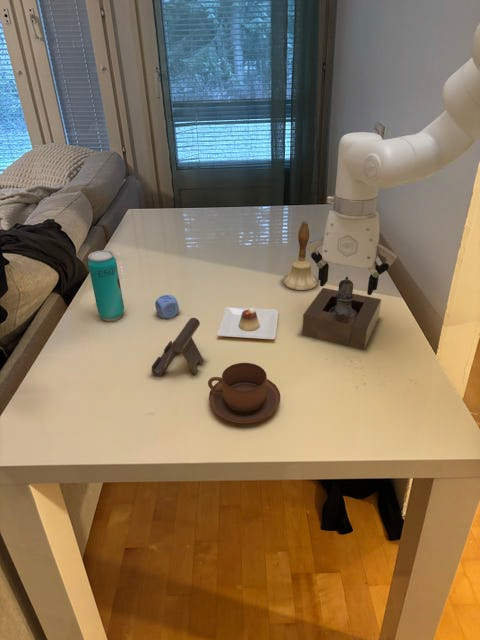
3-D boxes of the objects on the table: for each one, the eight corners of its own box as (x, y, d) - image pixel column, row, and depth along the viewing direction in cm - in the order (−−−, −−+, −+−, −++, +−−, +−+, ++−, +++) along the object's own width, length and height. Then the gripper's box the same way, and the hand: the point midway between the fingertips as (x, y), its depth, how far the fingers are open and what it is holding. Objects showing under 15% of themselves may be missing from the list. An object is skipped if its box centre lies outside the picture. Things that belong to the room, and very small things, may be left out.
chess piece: (360, 332, 98) (367, 281, 91) (333, 336, 97) (339, 284, 90) (348, 318, 103) (354, 268, 96) (323, 321, 102) (327, 271, 95)
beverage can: (128, 318, 104) (118, 256, 97) (103, 325, 102) (90, 262, 94) (120, 307, 109) (110, 247, 101) (96, 314, 106) (83, 253, 98)
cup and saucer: (213, 434, 73) (211, 404, 70) (206, 386, 84) (204, 358, 80) (287, 424, 75) (289, 395, 72) (271, 378, 85) (272, 351, 82)
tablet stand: (171, 349, 94) (166, 313, 89) (207, 354, 92) (205, 318, 88) (152, 375, 87) (146, 337, 82) (191, 382, 85) (188, 344, 80)
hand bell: (298, 273, 123) (301, 214, 114) (323, 282, 118) (328, 222, 109) (277, 283, 118) (278, 222, 110) (302, 294, 113) (306, 231, 104)
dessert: (216, 339, 96) (215, 320, 94) (226, 310, 106) (225, 292, 104) (274, 343, 95) (275, 323, 92) (278, 313, 105) (279, 295, 102)
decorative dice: (172, 308, 108) (170, 292, 106) (179, 315, 105) (178, 299, 103) (156, 313, 106) (154, 297, 104) (163, 320, 103) (161, 304, 101)
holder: (378, 319, 102) (381, 299, 100) (364, 349, 92) (367, 328, 90) (321, 306, 107) (322, 287, 105) (302, 335, 97) (303, 314, 95)
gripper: (303, 205, 86) (300, 288, 95) (399, 216, 80) (386, 304, 88) (316, 195, 92) (311, 273, 101) (407, 204, 85) (393, 287, 94)
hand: (346, 287), depth 95 cm, fingers open, 9 cm apart
